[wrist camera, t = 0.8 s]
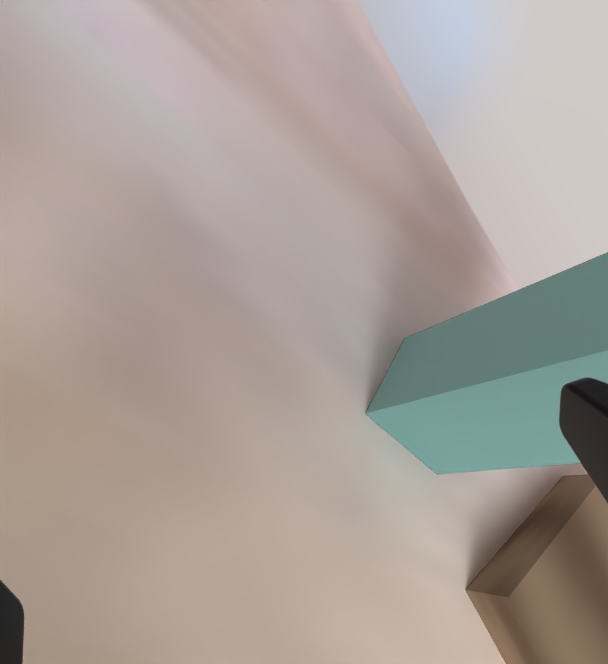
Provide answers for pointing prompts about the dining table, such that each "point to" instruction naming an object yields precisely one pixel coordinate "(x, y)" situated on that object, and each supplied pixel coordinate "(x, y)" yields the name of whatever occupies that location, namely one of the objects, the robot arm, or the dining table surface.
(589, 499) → the slab
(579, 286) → the pillar
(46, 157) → the dining table surface
